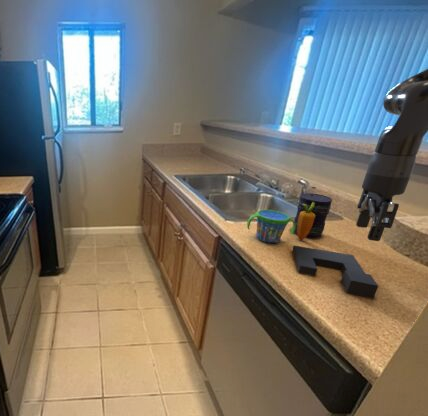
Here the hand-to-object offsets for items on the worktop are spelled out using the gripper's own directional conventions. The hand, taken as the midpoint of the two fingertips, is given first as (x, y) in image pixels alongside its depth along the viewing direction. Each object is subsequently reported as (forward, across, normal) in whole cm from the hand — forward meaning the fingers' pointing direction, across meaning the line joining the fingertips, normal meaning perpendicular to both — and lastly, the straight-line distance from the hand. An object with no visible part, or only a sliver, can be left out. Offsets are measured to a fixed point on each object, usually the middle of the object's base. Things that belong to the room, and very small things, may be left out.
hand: (366, 233), depth 71 cm
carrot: (+17, +27, +8) cm, 33 cm away
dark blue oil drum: (+17, +35, +5) cm, 39 cm away
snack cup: (+17, +23, +19) cm, 34 cm away
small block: (+17, -1, -2) cm, 17 cm away
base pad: (+17, +9, +4) cm, 19 cm away
